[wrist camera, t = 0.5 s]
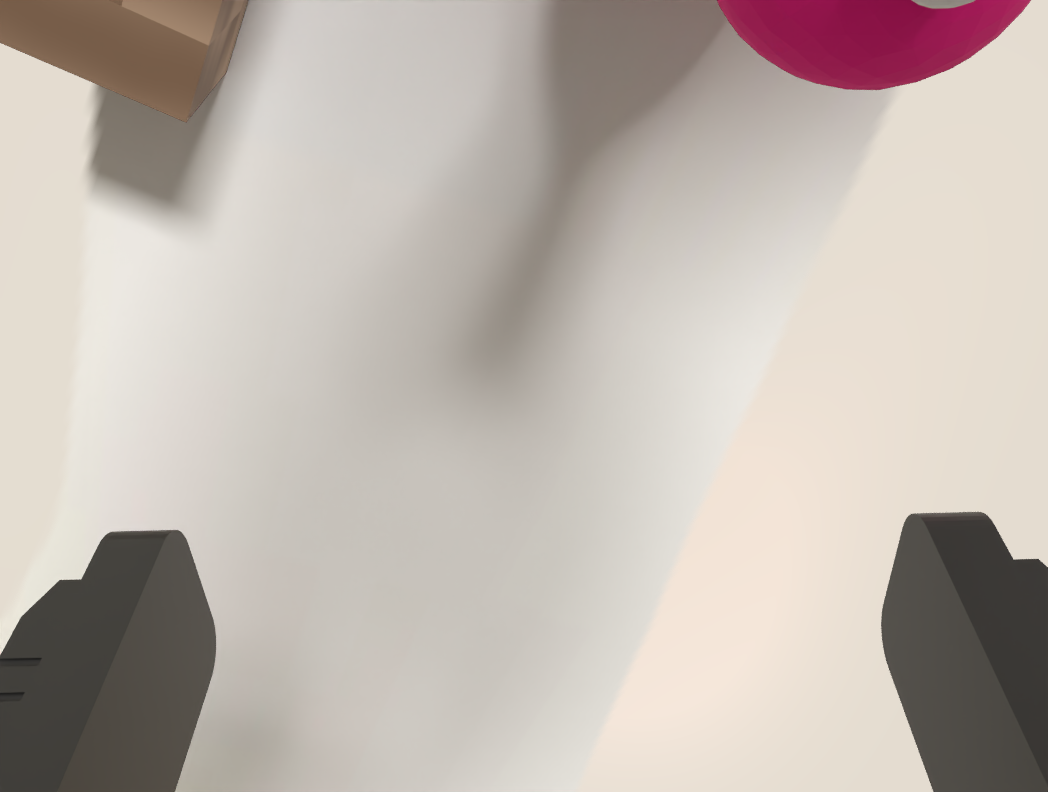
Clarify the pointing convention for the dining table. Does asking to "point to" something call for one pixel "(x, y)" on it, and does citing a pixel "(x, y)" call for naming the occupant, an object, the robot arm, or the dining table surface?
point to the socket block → (131, 44)
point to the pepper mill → (869, 36)
